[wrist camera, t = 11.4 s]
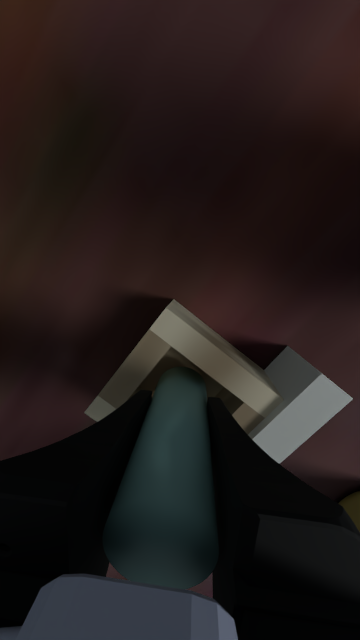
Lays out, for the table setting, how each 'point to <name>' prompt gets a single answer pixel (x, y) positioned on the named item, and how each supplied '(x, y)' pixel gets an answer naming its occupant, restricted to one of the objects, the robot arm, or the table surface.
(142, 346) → the beige hollow square block
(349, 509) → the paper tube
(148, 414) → the dowel
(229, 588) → the robot arm
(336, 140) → the table surface
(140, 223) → the table surface
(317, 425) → the wall
